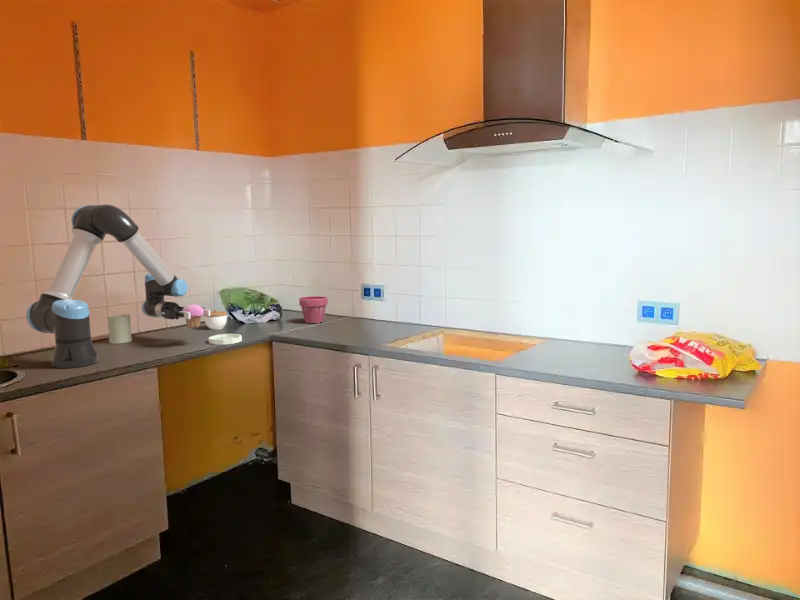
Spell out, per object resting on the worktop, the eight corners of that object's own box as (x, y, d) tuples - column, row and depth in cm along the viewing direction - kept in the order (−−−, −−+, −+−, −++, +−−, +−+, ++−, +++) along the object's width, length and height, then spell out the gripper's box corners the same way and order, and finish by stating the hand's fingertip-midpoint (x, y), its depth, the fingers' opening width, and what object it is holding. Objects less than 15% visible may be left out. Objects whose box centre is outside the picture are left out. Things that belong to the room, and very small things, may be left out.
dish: (222, 345, 251) (222, 341, 251) (202, 342, 259) (202, 337, 259) (248, 340, 262) (247, 335, 262) (228, 337, 270) (227, 332, 270)
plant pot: (318, 319, 316) (318, 295, 314) (333, 322, 305) (332, 297, 303) (295, 322, 307) (294, 297, 305) (309, 325, 296) (308, 300, 294)
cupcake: (203, 325, 259) (202, 302, 257) (205, 328, 251) (204, 304, 250) (181, 326, 255) (180, 303, 254) (183, 330, 247) (182, 305, 246)
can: (123, 343, 258) (121, 316, 257) (104, 343, 260) (102, 316, 259) (136, 339, 267) (134, 313, 266) (118, 339, 269) (116, 312, 268)
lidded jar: (217, 331, 285) (216, 311, 284) (200, 329, 290) (198, 310, 289) (232, 327, 295) (231, 308, 294) (215, 326, 299) (214, 307, 298)
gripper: (190, 315, 272) (221, 320, 259) (145, 321, 254) (177, 326, 241) (189, 299, 271) (220, 302, 258) (144, 304, 254) (176, 308, 240)
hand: (199, 314), depth 250 cm, fingers closed on cupcake, 9 cm apart
